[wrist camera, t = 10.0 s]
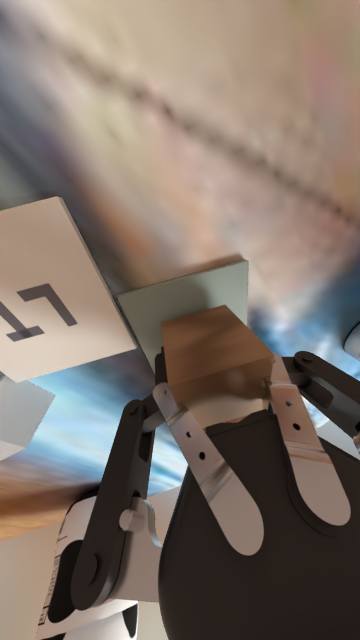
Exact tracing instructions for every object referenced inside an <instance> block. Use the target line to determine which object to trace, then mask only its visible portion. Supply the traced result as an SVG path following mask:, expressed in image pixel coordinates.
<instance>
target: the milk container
mask: <svg viewBox="0 0 360 640" xmlns="http://www.w3.org/2000/svg"><path fill="white" fill-rule="evenodd" d="M98 491H99V490H98ZM98 491H95V492H92V493H90V494H87V495H85V496H83V497H81V498H79V499H78V500H77V501H75V502H74V503H73V504H72V505H71V506H70V508H69V510H68V511H67V513H66V516H65V518H64V521H63V523H62V526H61V528H60V532H59V535H58V539H57V544H56V551H55V559H54V567H53V573H52V578H51V582H50V586H49V589H48V593H47V597H46V600H45V603H44V607H43V610H42V614H41V617H40V620H39V624H38V627H37V632H36V639H35V640H136V638H137V625H138V601H133V600H121V599H115V600H113V601H112V602H109V603H107V604H104V605H102V606H99V607H96V608H93V607H92V608H89V609H87V610H83V611H79V610H77V609H76V608H75V607H74V605H73V603H72V599H71V581H72V575H73V572H74V568H75V565H76V561H77V558H78V555H79V552H80V549H81V545H82V542H83V539H84V536H85V532H86V529H87V526H88V523H89V520H90V516H91V513H92V510H93V507H94V503H95V500H96V497H97V494H98Z"/></svg>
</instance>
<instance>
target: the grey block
mask: <svg viewBox="0 0 360 640" xmlns="http://www.w3.org/2000/svg"><path fill="white" fill-rule="evenodd" d="M55 396H56V395H55V394H53V393H51V392H49V391H47V390H45V389H43V388H41V387H39V386H37V385H35V384H33V383H31V382H29V381H27V380H25V381H21V382H18V383H16V382H14V381H13V380H12V379H10V378H9V377H8V376H6V375H3V376H2V377H0V461H1V460H3V459H5V458H7V457H9V456H11V455H13V454H15V453H17V452H19V451H21V450H23V449H25V448H27V446H28V444H29V442H30V441H31V439H32V437H33V435H34V433H35V432H36V430H37V428H38V426H39V424H40V423H41V421H42V419H43V417H44V415H45V414H46V412H47V410H48V408H49V406H50V405H51V403H52V401H53V399H54V398H55Z"/></svg>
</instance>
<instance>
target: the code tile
mask: <svg viewBox="0 0 360 640" xmlns="http://www.w3.org/2000/svg"><path fill="white" fill-rule="evenodd" d="M136 348H137V344H136V342H135V340H134V338H133V336H132V334H131V332H130V330H129V328H128V326H127V324H126V322H125V320H124V318H123V316H122V314H121V312H120V310H119V308H118V306H117V304H116V303H115V301H114V299H113V297H112V295H111V293H110V291H109V289H108V287H107V285H106V283H105V281H104V279H103V277H102V275H101V273H100V271H99V269H98V267H97V265H96V263H95V261H94V259H93V257H92V255H91V253H90V252H89V250H88V248H87V246H86V244H85V242H84V240H83V238H82V236H81V234H80V232H79V230H78V228H77V226H76V224H75V222H74V220H73V218H72V216H71V214H70V212H69V210H68V208H67V206H66V204H65V202H64V200H63V199H62V198H61V197H58V196H56V197H52V198H48V199H44V200H40V201H36V202H32V203H29V204H25V205H21V206H17V207H13V208H9V209H5V210H1V211H0V371H1V372H2V373H4V374H5V375H6V376H8V377H9V378H10V379H12V380H13V381H14V382H16V383H18V382H21V381H25V380H28V379H32V378H35V377H39V376H42V375H45V374H49V373H52V372H56V371H59V370H63V369H66V368H70V367H73V366H77V365H80V364H84V363H87V362H91V361H94V360H98V359H101V358H105V357H108V356H112V355H115V354H119V353H122V352H126V351H129V350H133V349H136Z"/></svg>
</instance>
